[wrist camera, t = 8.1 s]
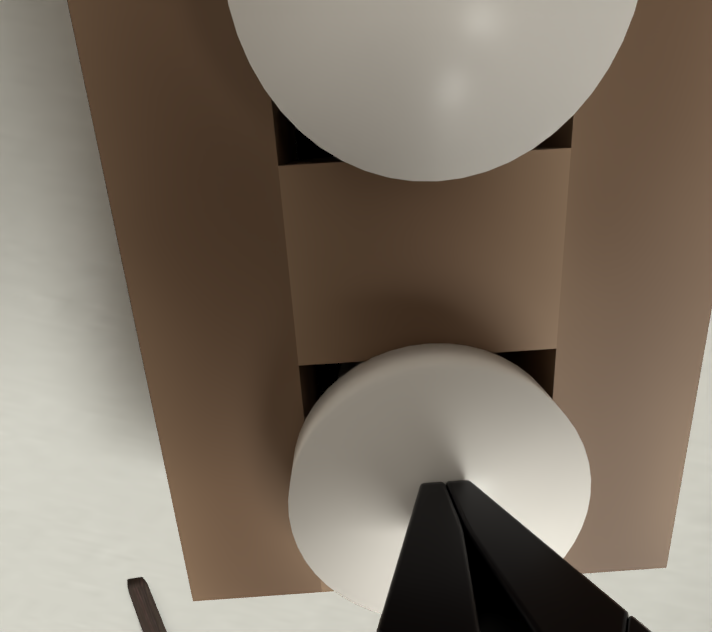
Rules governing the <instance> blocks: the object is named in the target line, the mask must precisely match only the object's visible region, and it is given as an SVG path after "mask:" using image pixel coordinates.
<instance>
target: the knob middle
mask: <svg viewBox="0 0 712 632" xmlns="http://www.w3.org/2000/svg"><path fill="white" fill-rule="evenodd" d="M637 1H638V0H228V5H229V8H230V12H231V15H232V18H233V22H234V25H235V29H236V32H237V35H238V38H239V40H240V42H241V45H242V47H243V49H244V52H245V54H246V56H247V59H248V61H249V63H250V65H251V67H252V69H253V70H254V72H255V74H256V76H257V77H258V79H259V81H260V82H261V84H262V86H263V88H264V89H265V91H266V92H267V93H268V95H269V96H270V97H271V99H272V100H273V101H274V103H275V104H276V105H277V107H278V108H279V109H280V111H281V112H282V113H283V114H284V115H285V116H286V117H287V118H288V119H289V120H290V121H291V122H292V123H293V124H294V125H295V126H296V127H297V129H298V130H299V131H301V132H302V133H303V134H304V135H305V136H307V137H308V138H309V139H310V140H312V141H313V142H314V143H315V144H317V145H318V146H319V147H320V148H322V149H324V150H325V151H327V152H329V153H330V154H332V155H334V156H335V157H337V158H338V159H340V160H342V161H344V162H346V163H348V164H351V165H353V166H355V167H357V168H360V169H362V170H364V171H367V172H371V173H374V174H378V175H381V176H385V177H388V178H394V179H401V180H408V181H444V180H452V179H460V178H465V177H469V176H472V175H476V174H480V173H483V172H487V171H489V170H492V169H494V168H497V167H499V166H501V165H504V164H506V163H509V162H511V161H513V160H514V159H516V158H518V157H520V156H521V155H523V154H525V153H527V152H528V151H530V150H532V149H533V148H535V147H536V146H538V145H539V144H540V143H542V142H543V141H544V140H546V139H547V138H548V137H550V136H551V135H552V134H554V133H555V132H556V131H557V130H558V129H559V128H560V127H561V126H562V125H563V124H564V123H565V122H567V121H568V120H569V119H570V118H571V117H572V116H573V115H574V114H575V113H576V112H577V110H578V109H579V108H580V107H581V106H582V104H583V103H584V102H585V101H586V100H587V99H588V97H589V96H590V95H591V94H592V93H593V91H594V90H595V88H596V87H597V85H598V84H599V82H600V81H601V79H602V78H603V76H604V75H605V73H606V72H607V70H608V69H609V67H610V65H611V63H612V61H613V59H614V58H615V56H616V54H617V52H618V50H619V48H620V46H621V44H622V42H623V40H624V37H625V35H626V32H627V30H628V27H629V25H630V22H631V20H632V17H633V15H634V12H635V8H636V5H637Z"/></svg>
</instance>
